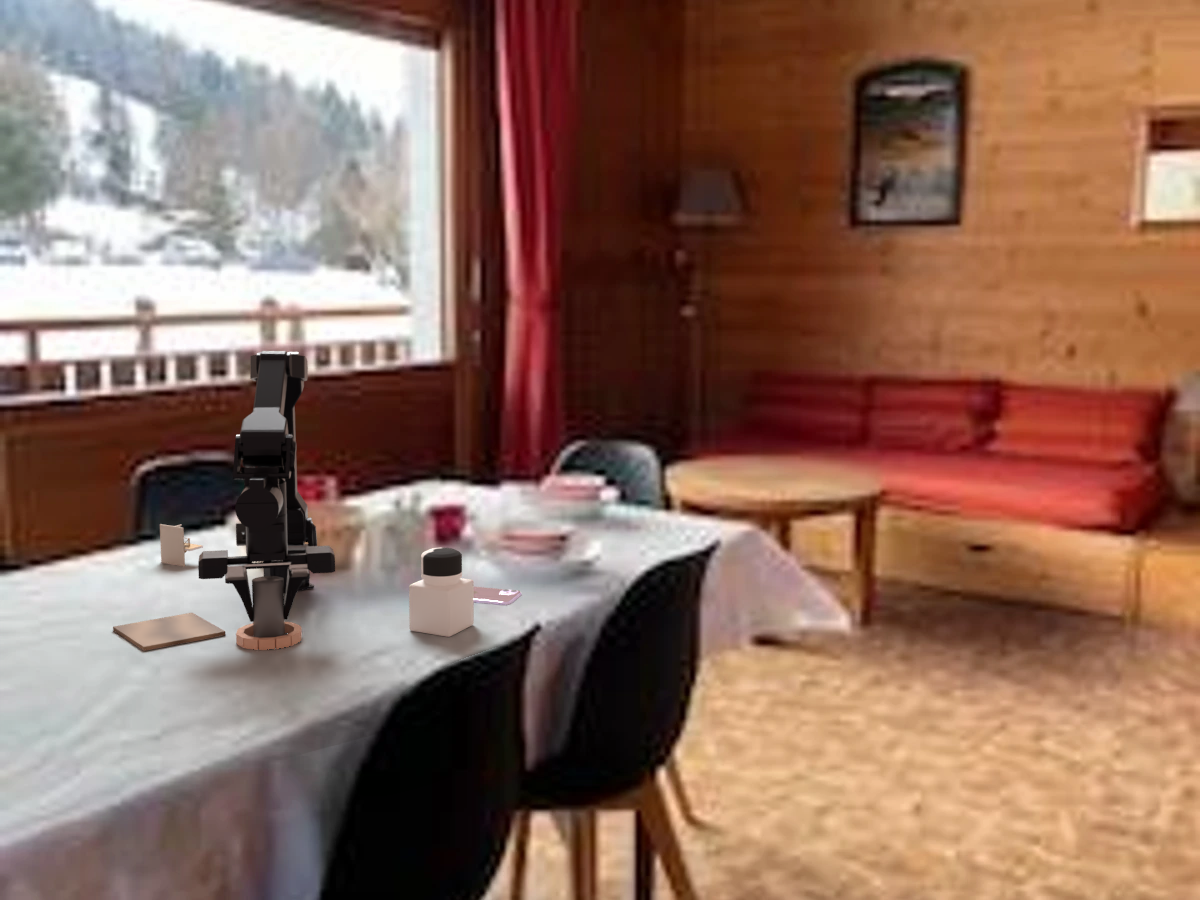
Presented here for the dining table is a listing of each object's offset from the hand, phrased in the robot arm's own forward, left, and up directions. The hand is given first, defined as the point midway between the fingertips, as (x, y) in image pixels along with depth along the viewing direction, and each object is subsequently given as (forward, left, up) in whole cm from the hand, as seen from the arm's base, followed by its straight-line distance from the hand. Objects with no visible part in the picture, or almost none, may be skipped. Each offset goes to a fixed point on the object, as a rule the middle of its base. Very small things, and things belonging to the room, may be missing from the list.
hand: (268, 620), depth 184 cm
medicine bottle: (-23, +10, -3) cm, 25 cm away
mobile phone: (-37, -2, -4) cm, 37 cm away
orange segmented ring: (0, 0, -3) cm, 3 cm away
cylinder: (0, 0, -3) cm, 3 cm away
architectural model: (-7, -51, -4) cm, 52 cm away
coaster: (+10, -12, -3) cm, 16 cm away
